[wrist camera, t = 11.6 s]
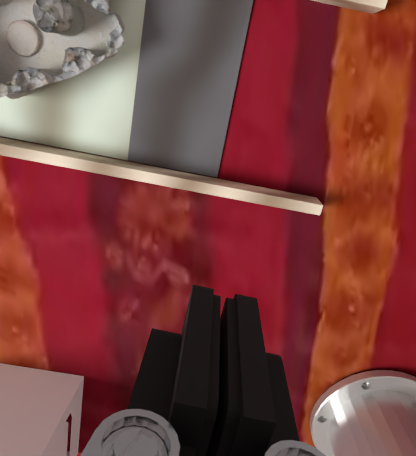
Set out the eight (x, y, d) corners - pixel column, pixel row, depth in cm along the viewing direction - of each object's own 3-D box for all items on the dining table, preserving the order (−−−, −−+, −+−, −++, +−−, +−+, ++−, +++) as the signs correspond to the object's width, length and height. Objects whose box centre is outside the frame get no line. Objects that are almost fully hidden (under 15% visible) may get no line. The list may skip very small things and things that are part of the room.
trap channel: (376, 0, 26) (389, -6, 24) (313, 207, 31) (319, 215, 29) (-121, -109, 24) (-149, -125, 22) (-98, 128, 29) (-119, 132, 27)
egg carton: (4, 106, 28) (-29, 112, 25) (-52, -5, 26) (-98, -19, 22) (138, 56, 27) (125, 53, 23) (93, -67, 24) (70, -93, 21)
